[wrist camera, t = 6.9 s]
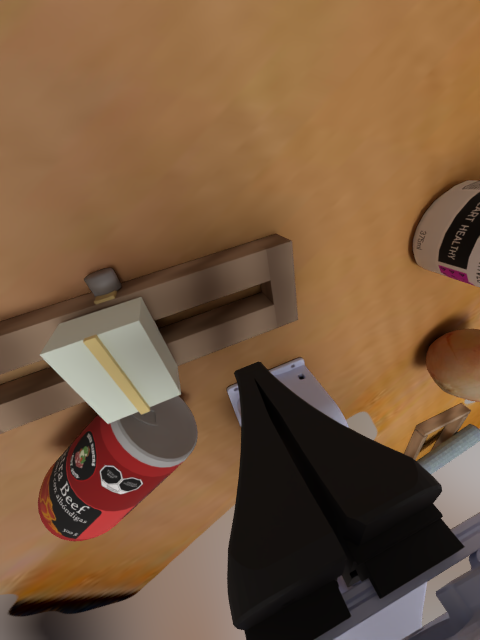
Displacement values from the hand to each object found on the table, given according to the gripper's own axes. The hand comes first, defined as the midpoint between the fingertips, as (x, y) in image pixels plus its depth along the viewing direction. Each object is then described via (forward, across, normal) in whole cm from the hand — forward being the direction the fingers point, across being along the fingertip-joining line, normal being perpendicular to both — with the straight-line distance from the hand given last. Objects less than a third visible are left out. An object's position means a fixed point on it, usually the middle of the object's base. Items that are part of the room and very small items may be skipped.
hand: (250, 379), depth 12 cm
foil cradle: (+10, -40, +60) cm, 73 cm away
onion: (+10, -30, +20) cm, 38 cm away
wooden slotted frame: (+10, +6, 0) cm, 12 cm away
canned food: (+6, +17, +13) cm, 22 cm away
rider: (+10, +7, 0) cm, 12 cm away
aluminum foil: (+8, -41, +61) cm, 74 cm away
